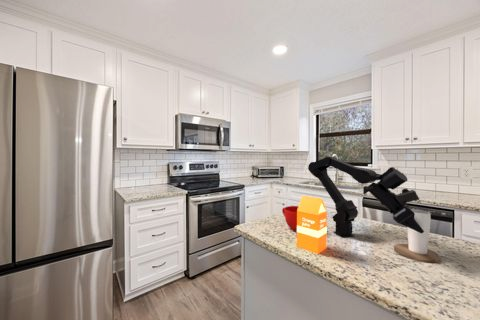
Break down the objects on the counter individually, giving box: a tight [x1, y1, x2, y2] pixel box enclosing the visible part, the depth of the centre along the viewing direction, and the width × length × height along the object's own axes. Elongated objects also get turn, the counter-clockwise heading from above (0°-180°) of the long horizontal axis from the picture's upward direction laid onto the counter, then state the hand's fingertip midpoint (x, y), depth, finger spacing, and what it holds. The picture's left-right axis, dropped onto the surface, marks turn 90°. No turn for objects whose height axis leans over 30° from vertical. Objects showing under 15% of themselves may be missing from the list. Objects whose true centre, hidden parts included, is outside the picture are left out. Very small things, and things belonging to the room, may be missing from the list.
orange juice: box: [296, 195, 328, 255], centre depth 81 cm, size 8×9×20 cm
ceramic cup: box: [281, 205, 299, 232], centre depth 104 cm, size 13×17×10 cm
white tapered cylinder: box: [406, 208, 432, 255], centre depth 76 cm, size 7×7×15 cm
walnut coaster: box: [393, 243, 441, 264], centre depth 76 cm, size 13×13×1 cm
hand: (420, 228), depth 76 cm, fingers open, 9 cm apart
